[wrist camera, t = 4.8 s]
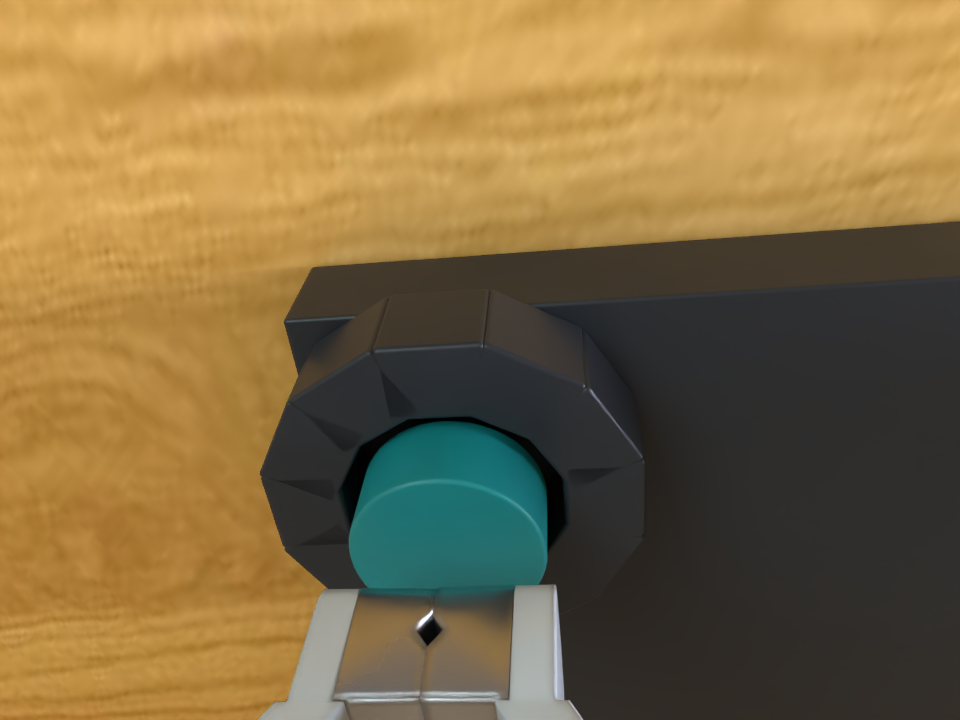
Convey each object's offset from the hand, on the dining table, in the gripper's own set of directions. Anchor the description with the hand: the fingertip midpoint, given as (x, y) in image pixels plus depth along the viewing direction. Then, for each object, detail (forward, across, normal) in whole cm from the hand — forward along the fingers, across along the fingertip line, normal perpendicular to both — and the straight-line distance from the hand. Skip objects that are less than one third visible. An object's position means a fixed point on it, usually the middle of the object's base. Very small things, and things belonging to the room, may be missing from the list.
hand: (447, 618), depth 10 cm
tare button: (+2, 0, 0) cm, 2 cm away
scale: (+6, -4, +4) cm, 8 cm away
